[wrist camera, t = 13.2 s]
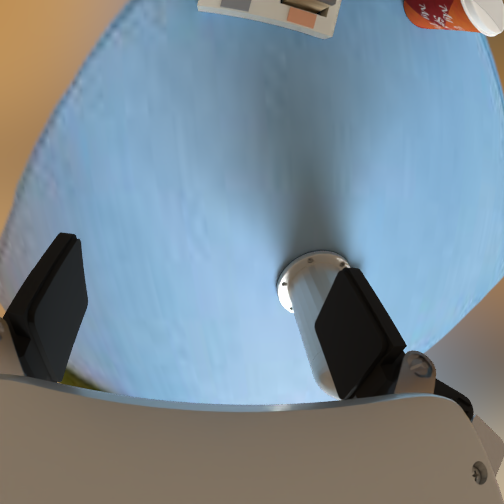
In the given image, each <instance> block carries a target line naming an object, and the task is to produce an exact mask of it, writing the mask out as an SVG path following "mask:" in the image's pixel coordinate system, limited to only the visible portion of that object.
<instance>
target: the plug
mask: <svg viewBox="0 0 504 504" xmlns="http://www.w3.org/2000/svg"><path fill="white" fill-rule="evenodd" d="M282 4H285V5H288V6H292V7H295V8H299V9H302V10H305V11H308V12H311V13H315V14H316V13H318V12H320V11H322V10H324V9H325V8H327V7H329V6H333V5H335V4H336V0H283V2H282Z"/></svg>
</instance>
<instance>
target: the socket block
mask: <svg viewBox="0 0 504 504" xmlns="http://www.w3.org/2000/svg"><path fill="white" fill-rule="evenodd" d="M340 4H341V0H336V4H335V5H333V6H329V7H327V8H325V9H324V10H322V11H320V15H318V14H315V13H311V12H308V11H305V10H302V9H299V8H295V7H292V6H288V5H285V4H281V3H280V0H199V1H198V4H197V7H198V11H201V12H209V13H216V14H223V15H229V16H235V17H240V18H245V19H250V20H255V21H260V22H264V23H268V24H272V25H276V26H280V27H284V28H288V29H291V30H295V31H298V32H302V33H305V34H308V35H311V36H314V37H317V38H320V39H327V38H330V37H332V36H333V32H334V28H335V24H336V20H337V16H338V12H339V8H340Z"/></svg>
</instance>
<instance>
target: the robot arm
mask: <svg viewBox="0 0 504 504" xmlns="http://www.w3.org/2000/svg"><path fill="white" fill-rule="evenodd" d="M277 294H278V298H279V300H280V302H281V304H282V305H283V306H284V308H285V309H287V310H288V311H290V312H292V313H294V316H295V319H296V322H297V325H298V328H299V331H300V334H301V338H302V341H303V344H304V347H305V350H306V353H307V357H308V360H309V363H310V366H311V369H312V373H313V376H314V379H315V381H316V383H317V384H318V386H319V387H320V388H321V389H322V390H323V391H324V392H325V393H327V394H328V395H330V396H332V397H333V398H336V399H338V400H339V401H329V402H316V403H300V404H276V405H227V404H203V403H188V402H175V401H164V400H155V399H146V398H138V397H131V396H124V395H118V394H112V393H106V392H100V391H95V390H89V389H84V388H79V387H74V386H69V385H64V384H60V383H57V381H58V382H61V381H62V379H63V376H64V372H65V369H66V366H67V363H68V359H69V356H70V353H71V350H72V347H73V344H74V342H75V339H76V336H77V333H78V330H79V328H80V325H81V322H82V319H83V317H84V314H85V312H86V309H87V305H88V297H87V290H86V283H85V276H84V268H83V259H82V249H81V241H80V239H77V238H76V235H75V234H69V233H59V234H58V235H57V237H56V238H55V239H54V241H53V242H52V244H51V245H50V246H49V248H48V249H47V250H46V252H45V253H44V255H43V256H42V257H41V259H40V260H39V262H38V263H37V265H36V266H35V267H34V269H33V270H32V271H31V273H30V274H29V276H28V277H27V279H26V280H25V282H24V283H23V285H22V286H21V288H20V290H19V291H18V293H17V294H16V296H15V298H14V299H13V301H12V303H11V304H10V306H9V308H8V309H7V311H6V313H5V315H4V316H3V318H1V317H0V504H504V502H503V499H502V495H501V492H500V489H499V486H498V483H497V480H496V478H495V477H496V474H497V472H498V470H499V467H500V465H501V462H502V459H503V457H504V443H503V441H502V440H501V438H500V437H499V436H498V435H497V434H496V433H495V432H494V431H493V430H492V429H491V428H490V427H489V426H488V425H486V423H484V422H483V420H482V419H480V418H479V417H478V416H477V415H474V416H473V407H472V405H471V402H470V400H469V399H468V398H467V397H465V396H464V395H463V394H461V393H459V392H458V391H456V390H454V389H453V388H451V387H449V386H448V385H446V384H444V383H443V382H441V381H439V380H437V379H436V369H435V366H434V364H433V362H432V361H431V360H430V359H429V358H428V357H427V356H426V355H424V354H423V353H421V352H418V351H408V352H407V353H406V354H405V353H404V351H403V350H404V348H405V347H406V346H407V345H406V344H405V342H404V340H403V338H402V337H401V335H400V333H399V332H398V330H397V328H396V326H395V325H394V323H393V321H392V320H391V318H390V316H389V315H388V313H387V311H386V310H385V308H384V307H383V305H382V303H381V302H380V300H379V299H378V297H377V295H376V294H375V292H374V291H373V289H372V287H371V286H370V284H369V283H368V281H367V280H366V278H365V277H364V275H363V273H362V272H361V270H360V269H357V268H351V267H350V265H349V264H348V262H347V261H346V260H345V259H344V258H343V257H342V256H340V255H339V254H337V253H334V252H330V251H315V252H310V253H307V254H305V255H302V256H300V257H299V258H297V259H295V260H294V261H293V262H291V263H290V264H289V265H288V266H287V267H286V268H285V269H284V270H283V272H282V274H281V275H280V277H279V280H278V283H277Z"/></svg>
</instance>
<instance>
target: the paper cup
mask: <svg viewBox="0 0 504 504" xmlns="http://www.w3.org/2000/svg"><path fill="white" fill-rule="evenodd" d="M404 11H405V13H406V15H407V17H408V19H409V20H410V21H411V22H412V23H413V24H414V25H416V26H418V27H420V28H426V29H445V30H459V31H470V32H479V33H483V34H484V35H487V36H495V35H497V34H499V33H501V32H502V31H503V30H504V4H503V2H502V0H404Z"/></svg>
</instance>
